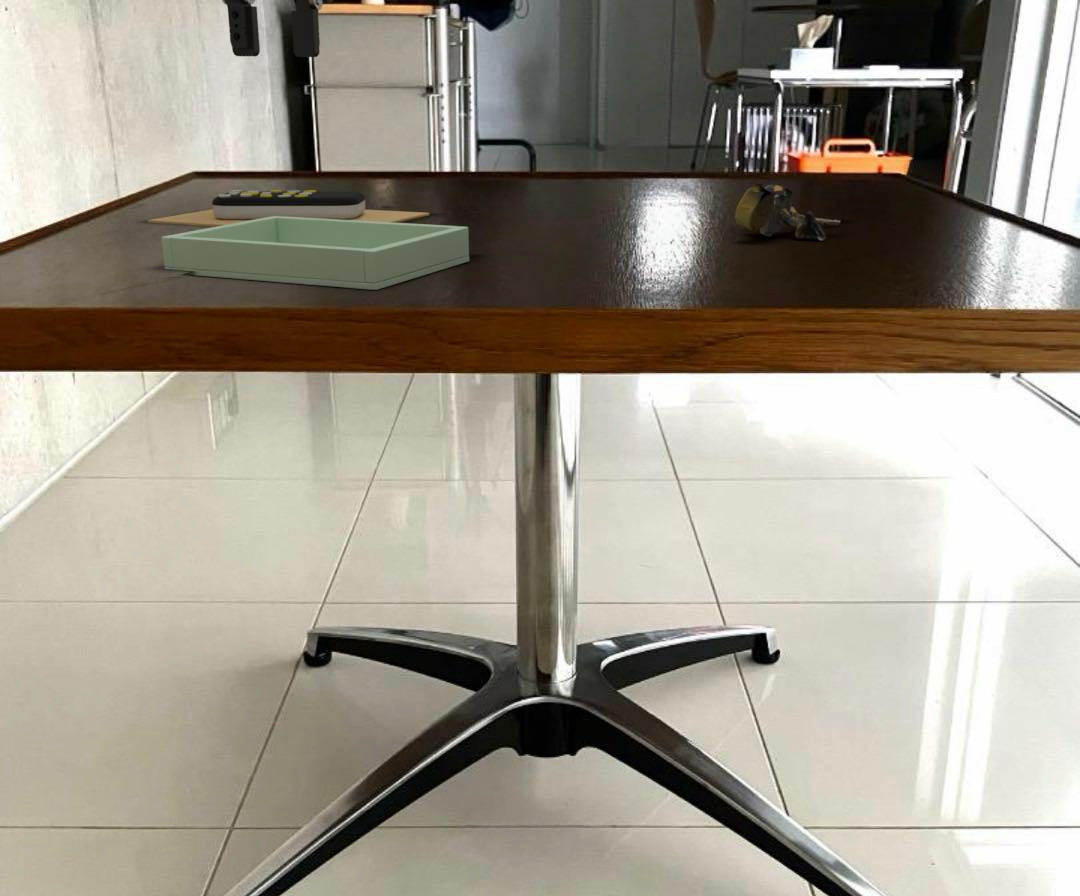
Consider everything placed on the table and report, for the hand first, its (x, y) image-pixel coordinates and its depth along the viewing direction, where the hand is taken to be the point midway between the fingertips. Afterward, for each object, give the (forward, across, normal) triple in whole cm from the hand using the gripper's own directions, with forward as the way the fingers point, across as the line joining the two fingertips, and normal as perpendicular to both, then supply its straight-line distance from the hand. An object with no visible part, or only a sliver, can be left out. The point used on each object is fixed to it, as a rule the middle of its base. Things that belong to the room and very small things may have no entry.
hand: (277, 56), depth 103 cm
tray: (+14, +20, +17) cm, 29 cm away
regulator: (+13, -9, +42) cm, 45 cm away
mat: (+14, 0, 0) cm, 14 cm away
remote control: (+13, 0, 0) cm, 13 cm away
